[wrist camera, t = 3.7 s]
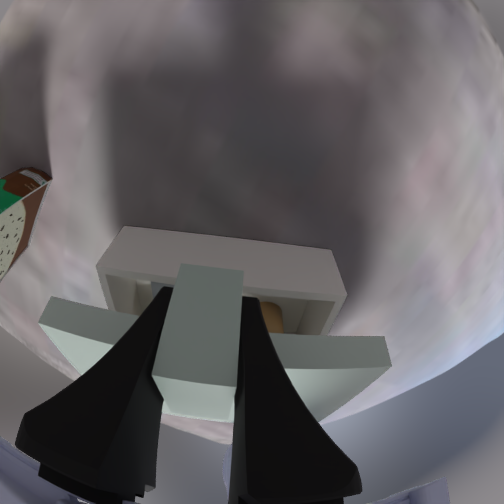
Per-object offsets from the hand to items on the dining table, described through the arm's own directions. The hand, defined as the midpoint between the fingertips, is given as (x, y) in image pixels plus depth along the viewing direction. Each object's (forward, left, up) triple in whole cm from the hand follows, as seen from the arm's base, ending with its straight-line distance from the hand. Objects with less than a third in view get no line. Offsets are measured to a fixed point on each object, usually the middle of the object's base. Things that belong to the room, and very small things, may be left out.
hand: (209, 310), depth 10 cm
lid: (-6, 0, -1) cm, 6 cm away
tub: (-8, 0, -10) cm, 13 cm away
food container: (-1, +20, -10) cm, 22 cm away
